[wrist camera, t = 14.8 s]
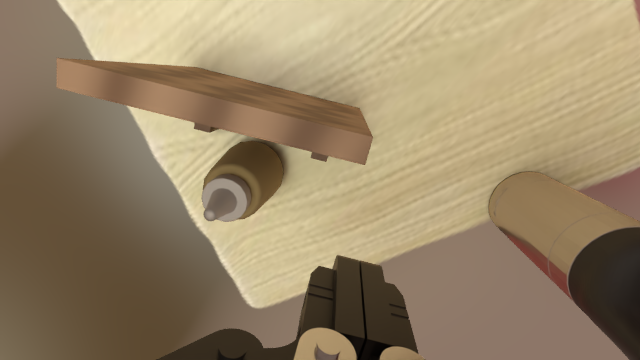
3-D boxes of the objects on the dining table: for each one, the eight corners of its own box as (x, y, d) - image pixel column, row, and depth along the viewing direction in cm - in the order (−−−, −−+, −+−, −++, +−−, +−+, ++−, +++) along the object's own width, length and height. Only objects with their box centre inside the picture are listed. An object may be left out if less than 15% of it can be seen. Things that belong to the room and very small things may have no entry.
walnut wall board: (359, 108, 44) (373, 137, 23) (345, 159, 46) (346, 228, 25) (195, 67, 44) (56, 58, 23) (188, 119, 46) (56, 156, 25)
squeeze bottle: (259, 123, 45) (207, 151, 28) (300, 167, 47) (274, 220, 30) (219, 161, 47) (147, 210, 30) (259, 202, 49) (212, 271, 31)
